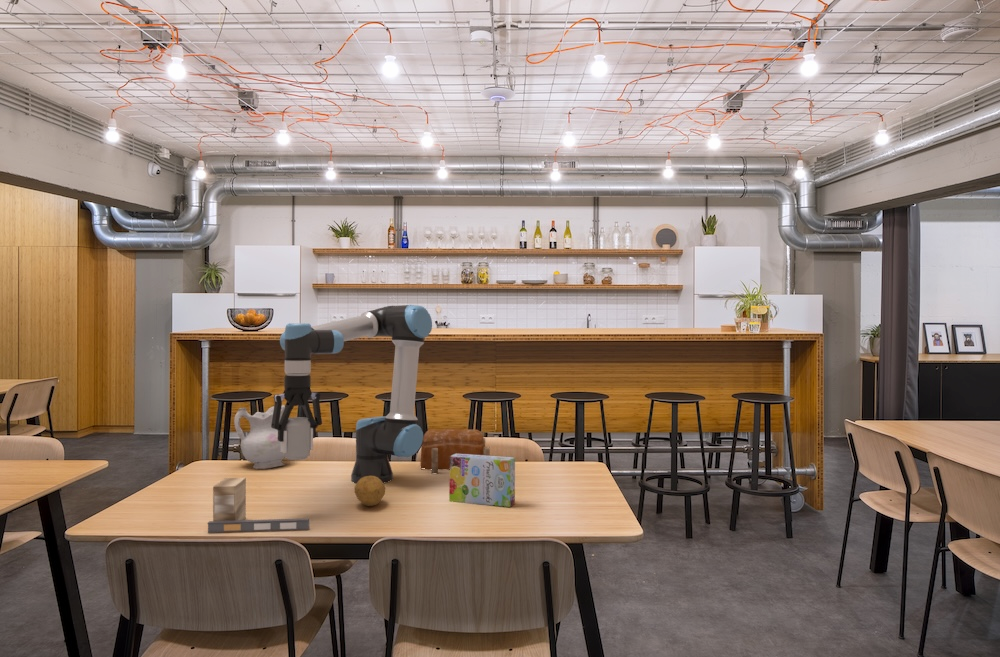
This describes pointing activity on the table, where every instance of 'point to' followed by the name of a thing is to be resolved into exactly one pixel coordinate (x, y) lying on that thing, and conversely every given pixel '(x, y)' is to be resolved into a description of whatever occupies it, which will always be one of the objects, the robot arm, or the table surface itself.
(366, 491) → the potato
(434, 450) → the twin upright posts
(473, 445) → the bread
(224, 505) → the kraft box
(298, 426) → the can
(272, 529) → the rail
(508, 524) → the table surface
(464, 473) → the snack box
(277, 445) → the ceramic pitcher
